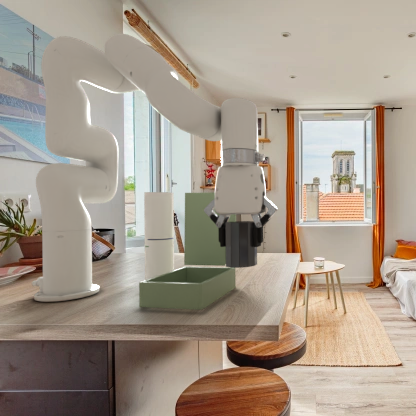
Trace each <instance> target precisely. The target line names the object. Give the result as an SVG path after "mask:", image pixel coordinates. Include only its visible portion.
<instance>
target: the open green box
mask: <svg viewBox="0 0 416 416" xmlns="http://www.w3.org/2000/svg"><path fill="white" fill-rule="evenodd" d="M236 276H237V275H236V268H231V267H226V266H182V267H180V268H177V269H174V271H171V272H168V273H165V274H162V275H159V276H156V277H153V278H150V279H148V280H145V279H144V280H142V281H139V282H138V293H139V295H138V297H139V298H138V302H139V303H138V304H139V305H138V306H139V308H151V309H173V310H175V309H176V310H198V311H199V310H202V311H203V310H205V308H207V307H209V306H211V305H212V304H214V303H215V302H216V301H218V300H220V299H221V298H222V297H224V296H225V295H227V294H229V293H231V291H233V290H235V289H236V288H237V287H236V283H237V282H236Z"/></svg>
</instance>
